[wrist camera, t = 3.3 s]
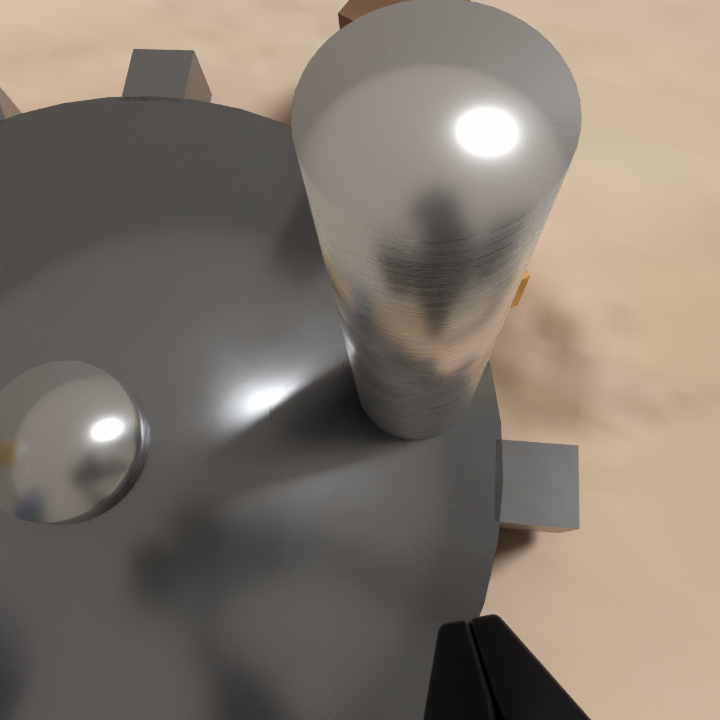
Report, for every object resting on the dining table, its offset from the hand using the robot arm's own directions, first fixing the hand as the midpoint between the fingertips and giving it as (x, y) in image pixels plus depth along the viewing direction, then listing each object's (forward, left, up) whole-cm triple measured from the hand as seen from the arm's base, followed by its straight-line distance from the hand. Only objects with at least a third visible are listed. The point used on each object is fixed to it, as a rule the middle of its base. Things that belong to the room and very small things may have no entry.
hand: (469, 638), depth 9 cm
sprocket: (-2, +10, -9) cm, 13 cm away
